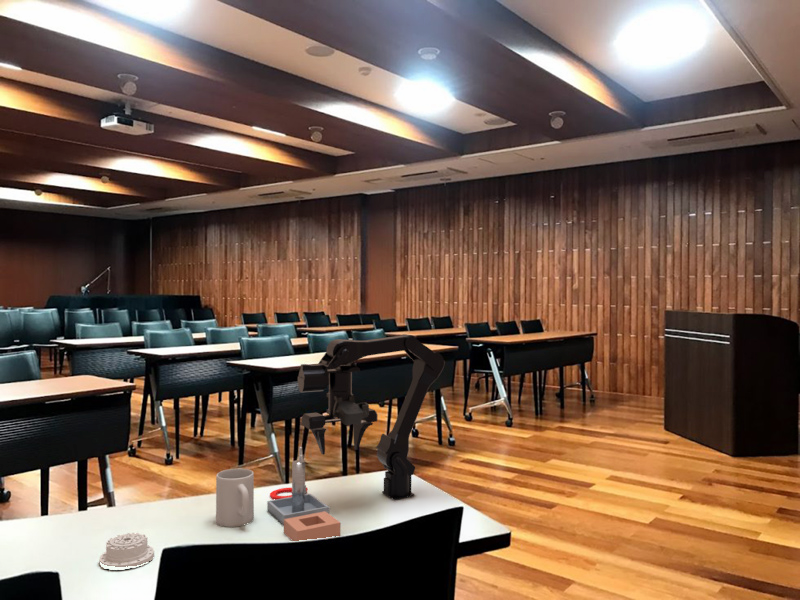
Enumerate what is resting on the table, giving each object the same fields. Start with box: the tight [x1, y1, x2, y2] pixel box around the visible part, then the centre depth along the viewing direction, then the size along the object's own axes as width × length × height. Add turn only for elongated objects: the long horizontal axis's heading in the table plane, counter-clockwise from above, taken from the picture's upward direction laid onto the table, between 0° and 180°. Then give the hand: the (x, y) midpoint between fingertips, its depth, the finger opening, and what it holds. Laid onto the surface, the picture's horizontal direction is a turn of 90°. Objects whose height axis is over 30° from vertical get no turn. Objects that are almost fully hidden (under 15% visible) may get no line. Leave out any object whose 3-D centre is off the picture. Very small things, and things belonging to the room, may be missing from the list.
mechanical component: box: [99, 532, 155, 567], centre depth 126 cm, size 10×4×10 cm
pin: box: [291, 459, 306, 513], centre depth 151 cm, size 3×3×12 cm
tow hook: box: [269, 446, 309, 500], centre depth 165 cm, size 8×13×9 cm
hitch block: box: [283, 511, 341, 542], centre depth 139 cm, size 10×8×3 cm
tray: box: [266, 493, 330, 527], centre depth 151 cm, size 11×11×2 cm
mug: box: [215, 468, 255, 528], centre depth 146 cm, size 12×8×11 cm
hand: (339, 451), depth 159 cm, fingers open, 9 cm apart
